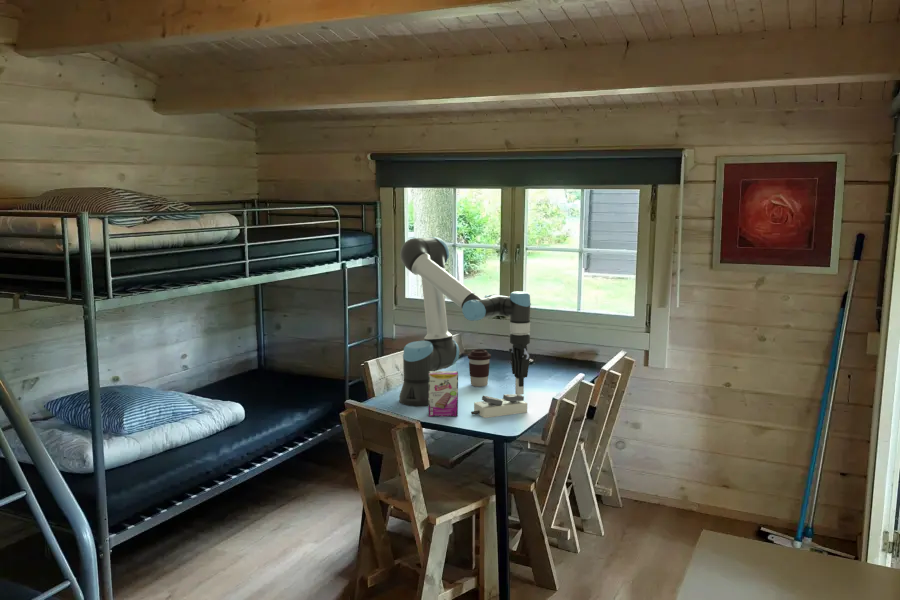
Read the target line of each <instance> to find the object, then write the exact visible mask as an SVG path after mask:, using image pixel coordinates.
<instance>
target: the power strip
mask: <svg viewBox="0 0 900 600" xmlns="http://www.w3.org/2000/svg"><path fill="white" fill-rule="evenodd" d="M499 399H500V400H502V401H503V402H502V405H498V404H493V403H488V402H485V401H483V400H482V401H475V402H474V403H473V410H472V411H471V412H470V413H471V415H472V416H473V415H479V416H481V418H484V419H486V418H496V417H503V416H509V415H515V414H523V413H524V414H526V413H528V402H525V401H506V400H505V399H503V398H499Z"/></svg>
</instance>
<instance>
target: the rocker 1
mask: <svg viewBox="0 0 900 600" xmlns="http://www.w3.org/2000/svg"><path fill="white" fill-rule="evenodd" d="M500 399H501V398H497V397H492V396H489V395H482V396H481V400H482V401H485V402H488V403H493V404H498V405H502V402H503V401H502V400H500Z"/></svg>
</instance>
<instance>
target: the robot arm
mask: <svg viewBox="0 0 900 600" xmlns="http://www.w3.org/2000/svg"><path fill="white" fill-rule="evenodd" d="M399 256H400V257H399V258H400V261H401V263H402V264H403V266H404V267H405V268H406V269H407V270H408V271H409V272H411V273H412V274H413V275H416V276H418V275H419V276H420V277H421V286H422V287H421V288H422V295H423V297H422V298H423V305H424V314H425V324H426V334H425V336H424V337H423V340H418V341H417V340H416V341H411V342H408V343H407V344H406V345H405V346H404V347H403V354H402V359H403V360H402V364H403V383H402V387H401V390H400V393H399V403H400V404H402V405H406V406H413V407H423V406H428V384H429V371H441V370H443V369H444V370H445V369H448V368H450V367H451V366H454V365H455V364H456V363H457V362H458V361H459V358H460V346H459V345H458V343H457V342H456V340H454V339H453V334H452V333H451V332H450V331H449V329H448V319H447V307H446V300H445V299H446V298H447V299H449V301H451V302H453V303H454V304H455V305H457V306H458V307H459V308H460V309H461V310H462V311H461V312H462V315H463V316H464V318H465V319H466V320H468V321H472V322H473V321H480V320H484V319H487V318H492V317H496V316H502V317H509V332H510V334H509V342H510V344H511V345H512V347H510V348H508V352H509V355H510V365H511V374H512V375H514V376H513V377H515V388H514V389H515V391H514V392H515V393H514V394H516V395H522V396H523V395H524V394H525V392H524V391H525V390H524V387H525V386H524V385H525V378H528V373H529V368H530V367H529V366H530V361H531V357H532V355H531V353H528V347H527V345H529V344H530V343H531V334H530V332H531V306H532V305H531V294H530V293H529V292H527V291H512V292H510V295H509V296H506V295H497V294H487V295H485V296H484V297H480V296H479V295H477V294H476V293H475V292H473V291H472V290H471V289H470V288H468V287H467V286H466V285H464V284H463V283H462V282H460V281H459V280H458V279H457V278H455V277H454V276H453V275H451V274H450V273H449V272H448V271H446V263H447V262H448V260H449V258H450V249H449V246H448V244H447V243H446V242H445V241H444V240H443V239H442V238H440V237H435V236H434V237H433V236H429V237H418V238H416V237H415V238H410V239H408V240H407V241H405V242H404V243H403V244H402V246H401V248H400V253H399Z"/></svg>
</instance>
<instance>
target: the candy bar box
mask: <svg viewBox="0 0 900 600" xmlns="http://www.w3.org/2000/svg"><path fill="white" fill-rule="evenodd" d="M427 408H428V409H427V411H428V412H427V413H428V415H427V416H428V417H458V414H459V372H458V371H456V370H453V371H451V370H450V371H449V370H444V371H443V370H442V371H441V370H437V371H429V384H428V405H427Z"/></svg>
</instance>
